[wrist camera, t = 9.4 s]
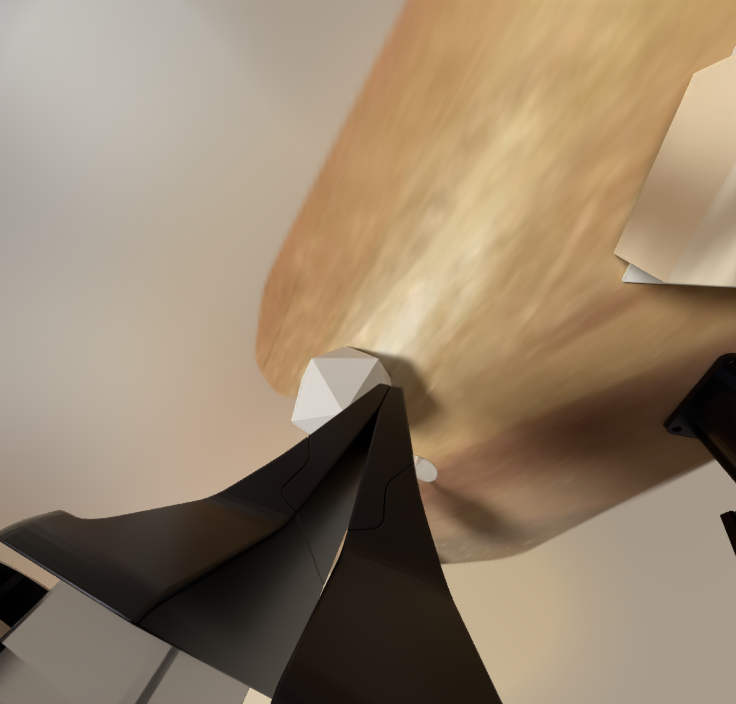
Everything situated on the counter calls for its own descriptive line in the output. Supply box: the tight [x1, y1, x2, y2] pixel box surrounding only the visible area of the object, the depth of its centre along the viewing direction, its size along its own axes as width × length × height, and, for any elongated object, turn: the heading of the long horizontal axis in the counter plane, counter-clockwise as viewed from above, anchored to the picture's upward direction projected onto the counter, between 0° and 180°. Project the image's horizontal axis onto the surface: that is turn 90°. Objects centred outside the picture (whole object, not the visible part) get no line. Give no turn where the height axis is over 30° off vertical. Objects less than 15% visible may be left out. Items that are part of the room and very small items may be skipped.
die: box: [291, 346, 392, 434], centre depth 22 cm, size 8×9×10 cm
